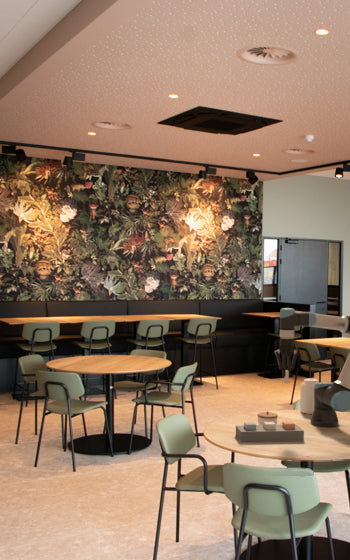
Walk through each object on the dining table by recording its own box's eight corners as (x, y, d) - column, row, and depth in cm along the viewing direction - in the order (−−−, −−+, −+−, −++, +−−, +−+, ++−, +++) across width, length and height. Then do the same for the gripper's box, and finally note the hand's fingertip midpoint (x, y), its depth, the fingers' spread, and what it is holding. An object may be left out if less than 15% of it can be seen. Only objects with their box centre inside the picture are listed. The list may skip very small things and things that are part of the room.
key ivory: (272, 431, 299) (272, 421, 299) (275, 434, 294) (275, 424, 294) (263, 431, 298) (263, 421, 298) (265, 434, 293) (266, 424, 293)
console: (296, 434, 304) (296, 424, 304) (303, 440, 292) (303, 430, 292) (235, 435, 300) (235, 425, 300) (241, 441, 288) (241, 431, 288)
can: (323, 414, 348) (324, 381, 348) (302, 414, 348) (303, 380, 348) (318, 409, 361) (318, 377, 361) (298, 409, 361) (298, 377, 360)
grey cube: (253, 431, 298) (253, 422, 298) (256, 434, 293) (256, 424, 293) (244, 431, 297) (244, 422, 297) (246, 434, 292) (246, 424, 292)
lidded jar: (277, 431, 308) (277, 414, 308) (256, 430, 310) (256, 412, 310) (277, 426, 319) (277, 409, 318) (257, 425, 321) (258, 408, 321)
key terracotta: (291, 431, 300) (291, 421, 300) (294, 433, 295) (294, 423, 295) (282, 431, 299) (282, 421, 299) (285, 433, 294) (285, 424, 294)
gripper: (296, 337, 309) (296, 381, 310) (272, 337, 308) (272, 381, 308) (301, 338, 302) (300, 384, 302) (276, 338, 300) (276, 384, 301)
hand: (286, 382), depth 305 cm, fingers closed
